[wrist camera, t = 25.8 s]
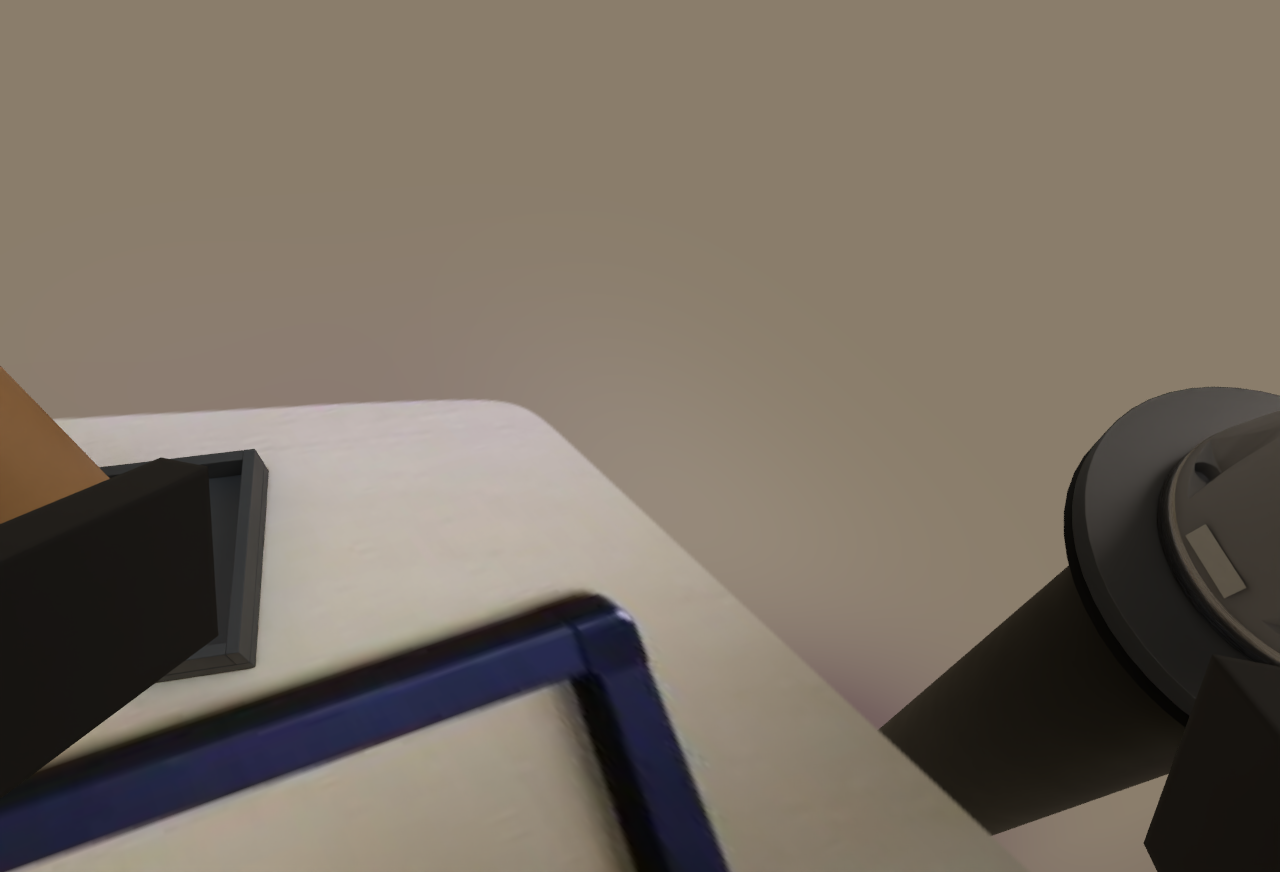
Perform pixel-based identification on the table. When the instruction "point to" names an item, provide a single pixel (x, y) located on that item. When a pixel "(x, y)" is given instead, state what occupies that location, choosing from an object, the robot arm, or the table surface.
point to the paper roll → (36, 456)
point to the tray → (229, 558)
